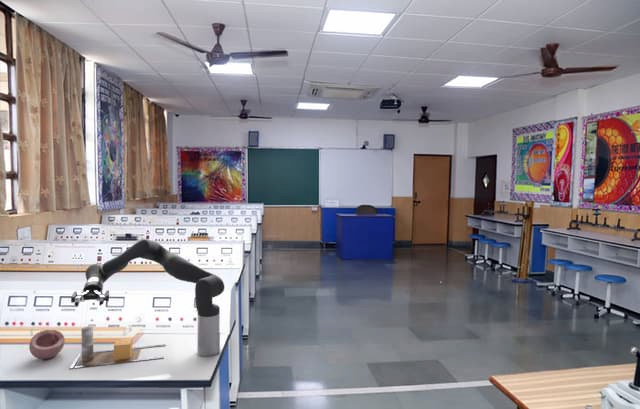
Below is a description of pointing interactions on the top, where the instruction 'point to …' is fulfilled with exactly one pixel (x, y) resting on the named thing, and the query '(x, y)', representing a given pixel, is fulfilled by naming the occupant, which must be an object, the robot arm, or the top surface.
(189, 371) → the top surface
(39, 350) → the pink round bowl
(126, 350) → the cube
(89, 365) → the track
